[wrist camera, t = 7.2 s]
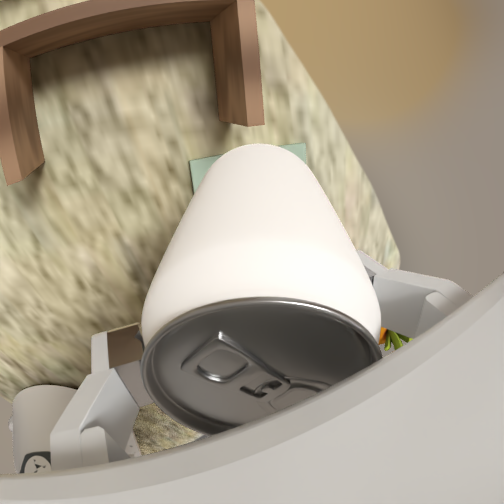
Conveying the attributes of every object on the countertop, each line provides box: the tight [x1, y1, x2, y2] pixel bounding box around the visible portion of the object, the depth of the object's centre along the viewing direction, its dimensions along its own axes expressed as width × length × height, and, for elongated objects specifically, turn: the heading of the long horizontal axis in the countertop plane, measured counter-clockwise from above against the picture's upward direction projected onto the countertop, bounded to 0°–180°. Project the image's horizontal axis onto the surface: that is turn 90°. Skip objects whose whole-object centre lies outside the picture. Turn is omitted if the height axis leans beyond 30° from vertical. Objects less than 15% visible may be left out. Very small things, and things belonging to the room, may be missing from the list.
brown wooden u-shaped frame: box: [0, 0, 265, 186], centre depth 18 cm, size 10×17×6 cm, turn 95°
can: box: [140, 144, 382, 436], centre depth 12 cm, size 6×6×12 cm
